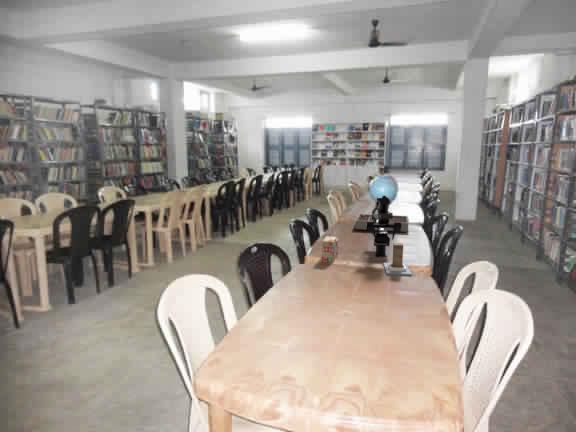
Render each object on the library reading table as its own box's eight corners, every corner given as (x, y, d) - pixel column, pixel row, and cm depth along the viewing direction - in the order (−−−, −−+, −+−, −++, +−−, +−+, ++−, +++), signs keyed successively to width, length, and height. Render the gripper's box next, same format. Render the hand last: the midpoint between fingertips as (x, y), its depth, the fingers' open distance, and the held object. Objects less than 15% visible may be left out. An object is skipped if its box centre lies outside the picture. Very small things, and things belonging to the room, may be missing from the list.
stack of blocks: (327, 252, 238) (328, 232, 236) (338, 253, 236) (338, 233, 234) (322, 262, 217) (322, 240, 215) (333, 263, 216) (333, 241, 214)
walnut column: (392, 267, 205) (393, 242, 202) (400, 267, 204) (402, 243, 202) (393, 269, 200) (394, 245, 198) (402, 270, 200) (403, 245, 197)
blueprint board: (383, 264, 213) (383, 259, 212) (406, 265, 211) (406, 260, 211) (386, 274, 195) (386, 270, 195) (411, 275, 194) (411, 271, 193)
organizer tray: (408, 233, 290) (409, 220, 288) (354, 231, 300) (354, 218, 298) (407, 225, 321) (408, 213, 319) (357, 223, 331) (358, 211, 329)
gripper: (367, 206, 216) (367, 230, 207) (402, 207, 213) (403, 231, 204) (365, 218, 225) (366, 241, 216) (399, 219, 222) (401, 242, 213)
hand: (384, 239), depth 212 cm, fingers open, 9 cm apart
